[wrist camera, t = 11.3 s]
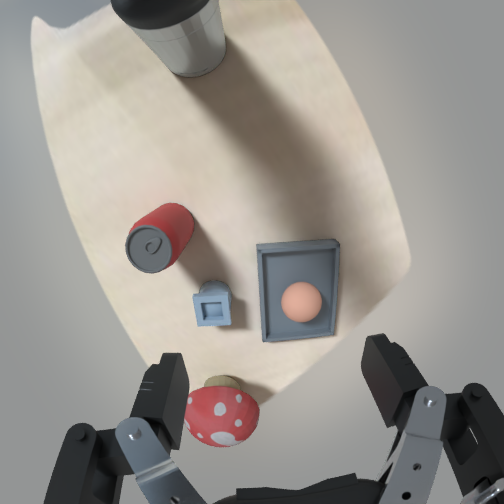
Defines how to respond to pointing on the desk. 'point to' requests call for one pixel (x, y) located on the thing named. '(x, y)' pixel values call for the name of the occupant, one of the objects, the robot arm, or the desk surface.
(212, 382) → the decorative mushroom
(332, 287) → the tray
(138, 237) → the beer can
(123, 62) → the desk surface
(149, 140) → the desk surface
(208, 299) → the square to round adapter
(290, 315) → the ball
